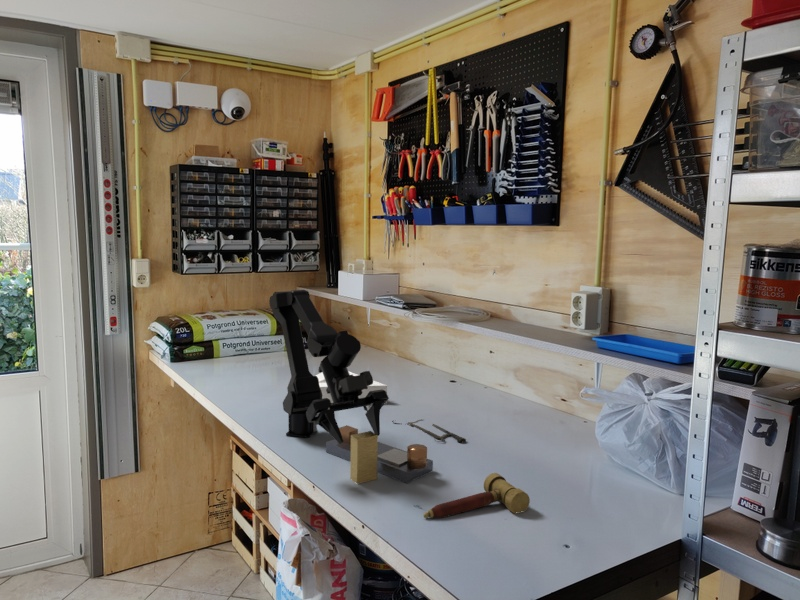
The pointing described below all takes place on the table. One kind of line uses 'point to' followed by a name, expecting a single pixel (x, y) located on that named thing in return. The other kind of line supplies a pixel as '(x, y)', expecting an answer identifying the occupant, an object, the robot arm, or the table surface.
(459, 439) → the bar clamp
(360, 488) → the table surface
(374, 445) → the brushed brass block
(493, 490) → the gavel
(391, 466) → the plane body
